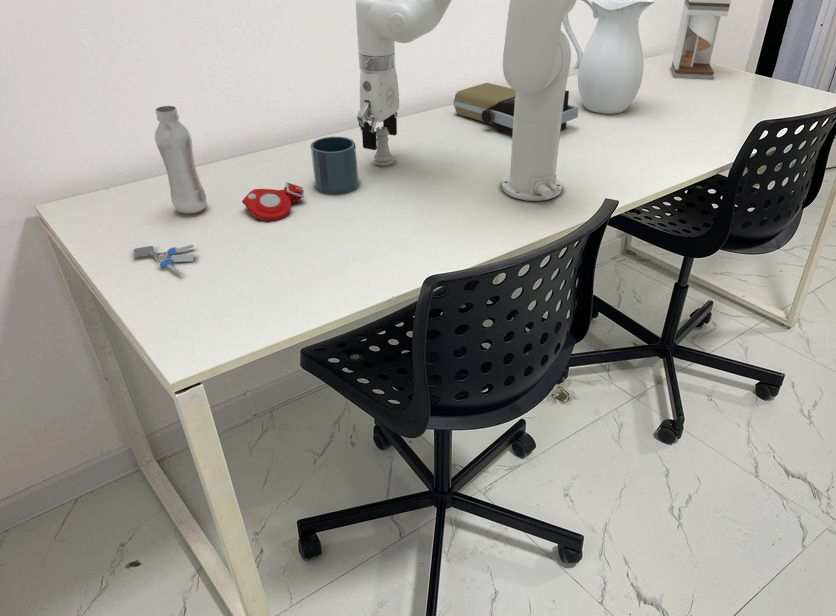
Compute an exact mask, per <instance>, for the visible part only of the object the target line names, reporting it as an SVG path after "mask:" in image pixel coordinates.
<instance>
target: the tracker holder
mask: <svg viewBox="0 0 836 616" xmlns="http://www.w3.org/2000/svg"><path fill="white" fill-rule="evenodd" d="M301 199H305V190H304V187H302V186H300V185H298V184H295V183H291V182H288V181H286V182H285V186H284V187H283V189H272V188H253V189H252V190H251V191H249V192H248V193H247V194H246V196H245V197H244V198H243V199H242V200H241V202H242V204H243V205H244V206H245V207H246V209H247V211H248V212H249V213H251V215H253V216H254V217H255V218H256V219H259V220H261V221H266V222H273V221H278V220H281V219H284V217H286V216H288V214H289V213H290V211H291V208H292V207H291V206H292V204H293V203H296V202H299V201H300V200H301Z"/></svg>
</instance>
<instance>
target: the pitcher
mask: <svg viewBox="0 0 836 616" xmlns="http://www.w3.org/2000/svg"><path fill="white" fill-rule="evenodd" d="M581 2H584V3H585V4H587V6H588V7H589V8H590V9H591V11H592V16H593V19H597V22H596V24H595V28H594V30H593V32H592V34H591V36H590V38H589V39H588V42H587V44H586V46H585V48H584V51H583V50H582V47H581V46H580V44H579V41H578V39H577V37H576V36H575V34H574V31H573V29H572V26H571V24H570V21H569V13H568V14H567V15H566V16H565V17H564V18H563V19H562V25H563V28H564V29H565V32H566V34H567V37H568V39H569V40H570V41H571V43H572V45H573V47H574V49H575V52H576V63H575V64H574V65H573V68H572V69H573V70H576V71H577V70H578V72H577V88H578V93H579V96H580V99H581V101H582V103H583V106H584V107H585V109H587V110H588V111H590V112H594V113H598V114H602V115H603V114H605V115H616V114H620V113H622V112H625V111H626V110H627V109H628V108H629V107H630V105H631V104H632V103H633V101H634V100H635V98H636V96H637V95H638V93H639V90H640V87H641V85H642V82H643V81H642V80H643V75H644V51H643V47H642V42H641V35H640V32H639V22H640V17H641V15H642V14H643V12H644V11H645V10H647V8H649V7H650V6H651V5H653V4H654V3H655V0H620V1H619V0H581Z"/></svg>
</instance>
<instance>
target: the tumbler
mask: <svg viewBox="0 0 836 616" xmlns="http://www.w3.org/2000/svg"><path fill="white" fill-rule="evenodd" d="M309 147H310V154H311V162H312V169H313V175H314V176H313V178H314V184H315V189H316V190H317V191H319V192H320V193H323V194H328V195H342V194H349V193H350V192H353V191H355V190H357V188H358V187H359V172H358V160H357V150H356V148H357V147H356V143H355V141H354V140H353V139H351V138H349V137H346V136H345V137H344V136H325V137H321V138H318V139H316V140H314V141H312V142H311V144H310V146H309Z"/></svg>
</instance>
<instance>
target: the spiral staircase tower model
mask: <svg viewBox="0 0 836 616" xmlns="http://www.w3.org/2000/svg"><path fill="white" fill-rule="evenodd" d="M731 2H732V0H684V2H683V7H682V12H681V17H680V23H679V27H678V32H677V37H676V43H675V47H674V52H673V57H672V63H671V67H670V69H671V72H672V75H673V78H678V79H680V78H681V79H699V80H713V78H714V74H715V71H714V70H713V68H712V66H711V65H710V63H711V59H712V55H713V50H714V46H715V42H716V37H717V34H718V29H719V26H720V25H719V24H720V21H721V17H728V14H729V11H730V6H731Z"/></svg>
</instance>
